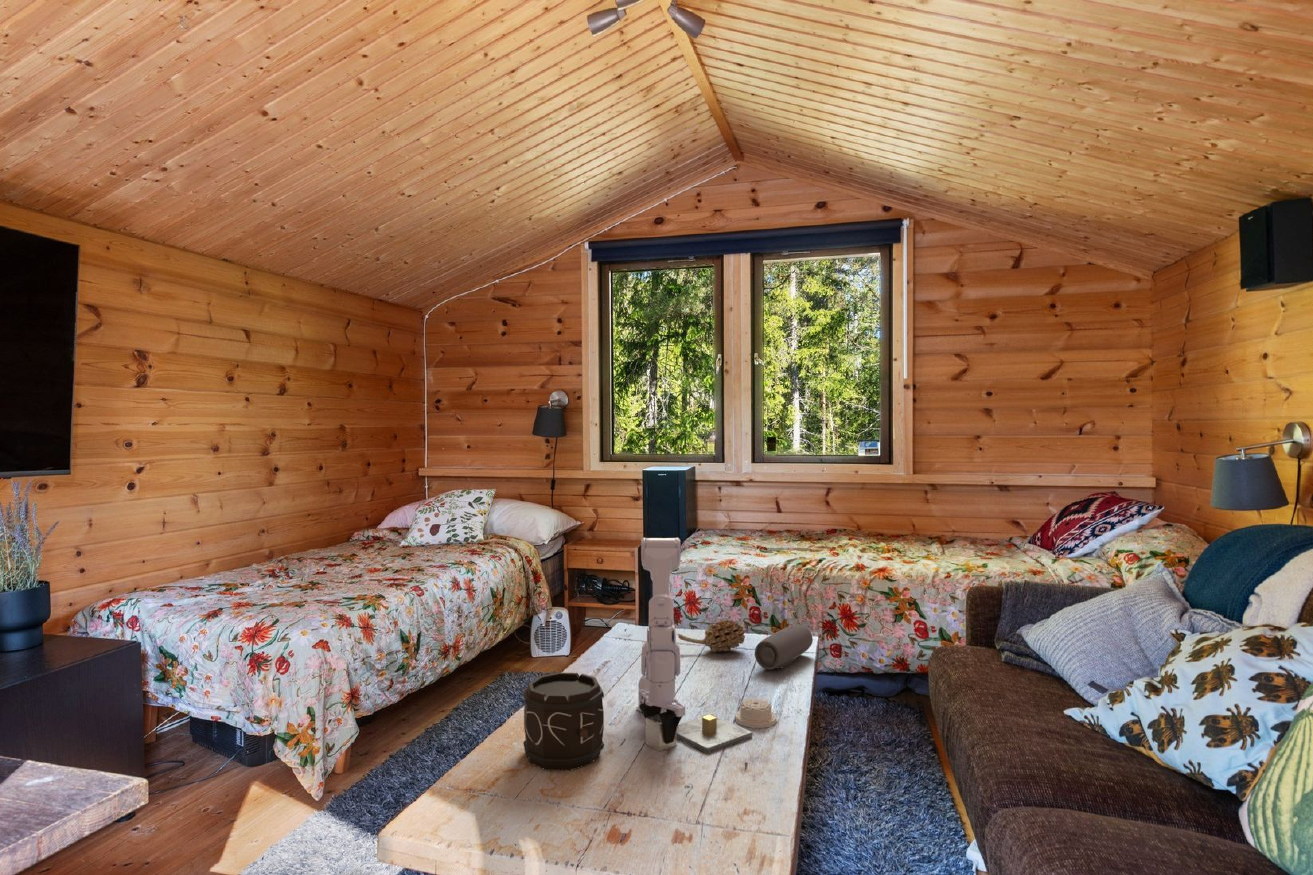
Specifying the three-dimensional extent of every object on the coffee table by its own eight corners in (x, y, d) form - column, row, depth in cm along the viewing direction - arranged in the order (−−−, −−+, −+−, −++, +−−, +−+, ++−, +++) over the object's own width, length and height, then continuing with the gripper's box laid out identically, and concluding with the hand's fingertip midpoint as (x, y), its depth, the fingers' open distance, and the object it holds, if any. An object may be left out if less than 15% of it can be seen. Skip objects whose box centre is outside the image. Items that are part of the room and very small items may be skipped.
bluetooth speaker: (786, 651, 243) (787, 620, 243) (814, 656, 238) (814, 624, 237) (752, 670, 225) (752, 636, 224) (781, 676, 219) (781, 641, 219)
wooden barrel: (543, 782, 155) (542, 705, 155) (510, 749, 170) (510, 679, 170) (620, 760, 165) (620, 688, 164) (583, 732, 180) (582, 665, 180)
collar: (645, 743, 173) (645, 717, 173) (662, 738, 176) (662, 712, 176) (659, 751, 169) (659, 724, 169) (676, 745, 173) (676, 718, 172)
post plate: (667, 733, 179) (667, 715, 179) (711, 718, 188) (711, 701, 188) (707, 753, 168) (707, 734, 168) (752, 737, 177) (752, 719, 177)
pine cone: (741, 646, 249) (741, 615, 248) (749, 654, 239) (749, 623, 239) (674, 649, 245) (674, 618, 245) (679, 658, 236) (679, 626, 236)
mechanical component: (733, 727, 183) (775, 730, 181) (733, 709, 183) (775, 712, 181) (737, 711, 193) (777, 715, 191) (737, 694, 193) (777, 697, 191)
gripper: (627, 674, 176) (627, 732, 176) (667, 691, 164) (667, 754, 165) (651, 667, 180) (651, 724, 181) (692, 684, 169) (692, 745, 169)
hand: (661, 738), depth 173 cm, fingers closed on collar, 5 cm apart
